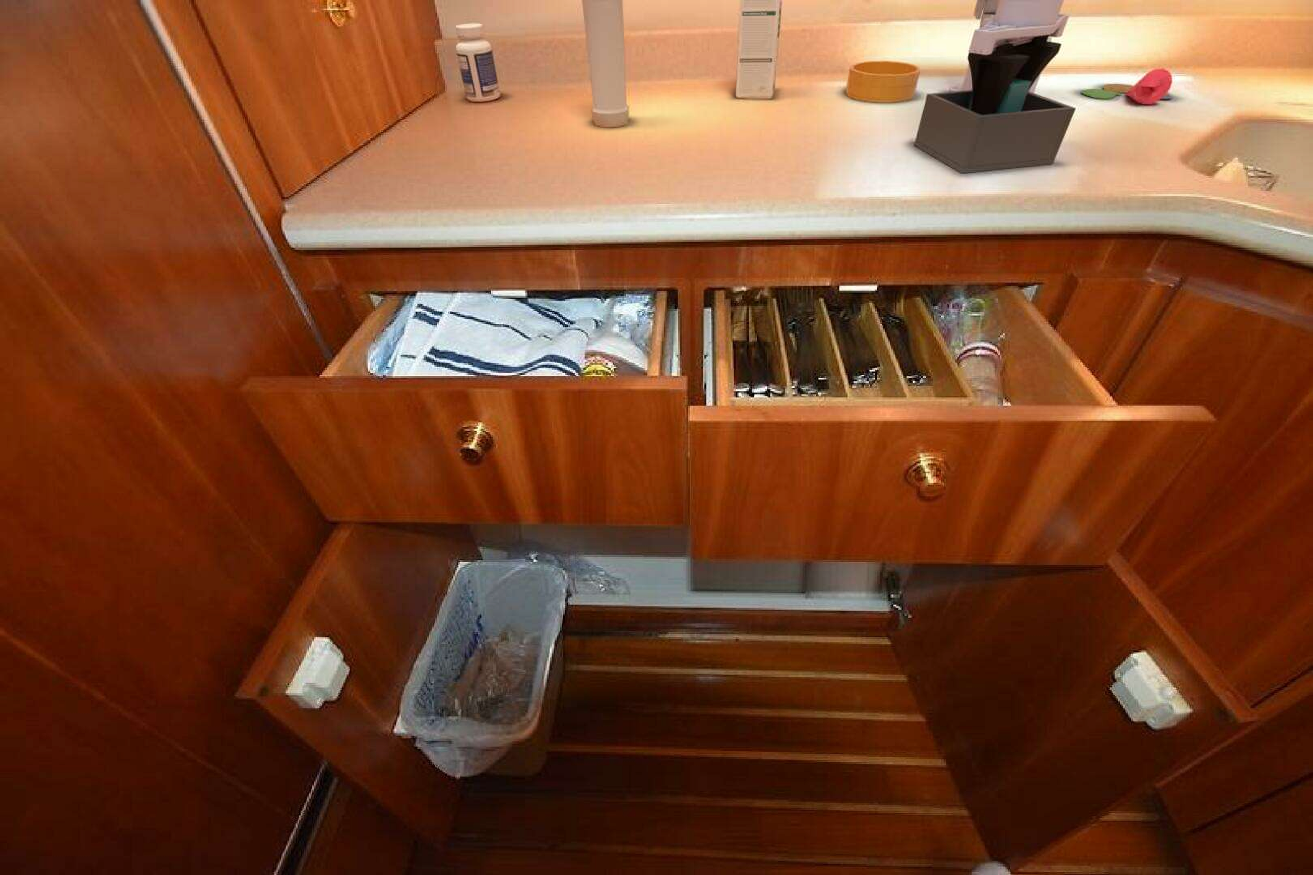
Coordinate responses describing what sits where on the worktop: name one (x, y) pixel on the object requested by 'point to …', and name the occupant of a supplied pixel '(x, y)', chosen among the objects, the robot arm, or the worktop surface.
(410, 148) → the worktop surface
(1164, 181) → the worktop surface
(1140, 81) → the toy pieces
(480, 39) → the pill bottle
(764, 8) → the syrup box
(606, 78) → the bottle
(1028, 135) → the bin
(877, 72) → the bowl
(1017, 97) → the toy block
